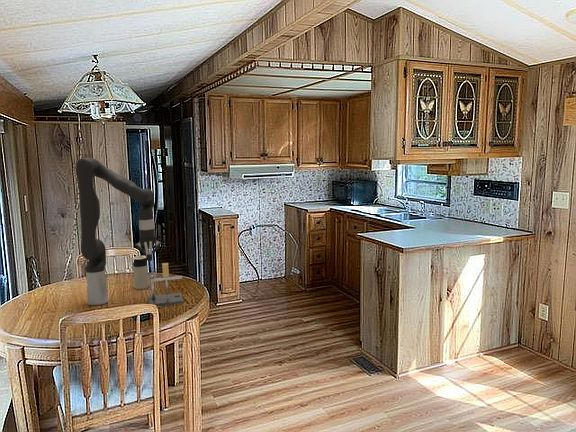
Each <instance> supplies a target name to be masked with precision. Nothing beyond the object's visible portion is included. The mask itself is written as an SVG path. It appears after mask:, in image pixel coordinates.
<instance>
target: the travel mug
mask: <svg viewBox="0 0 576 432" xmlns="http://www.w3.org/2000/svg"><path fill="white" fill-rule="evenodd" d="M132 259H133V262H132V269H133V271H132V272H133V283H134V284H133V285H134V289H136V290H143V289H147V288H149V287H150V281H149V280H150V277H149V266H148V261H147V259H146V255H137V256H133V257H132Z"/></svg>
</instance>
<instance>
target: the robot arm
mask: <svg viewBox="0 0 576 432" xmlns="http://www.w3.org/2000/svg"><path fill="white" fill-rule="evenodd" d="M75 173H76V179H77V184H78V197H79V216H80V229H81V230H80V231H81V234H80V235H81V236H80V237H81V238H80V252H81V256H82V257H83V259H85V260H88V263H87V264H86V266H85V275H86V285H87V286H86V295H87V305H88V306H98V305H99V306H100V305H104V304H106V303H108V301H109V297H108V287H107V276H106V265H107V251H106V245H105V243H104V242H103V240H101V239H99V238H96V237H97V236H96V235H97V234H96V232H97V228H98V225H99V221H100V217H101V206H100V205H101V204H100V199H99V197H98V195H97V192H96V191H95V187H94V179H93V178H94V177H97V178H99V179H102V180H103V181H105V182H107V183H108V184H109V185H111V187H112V188H114V189H116V190H117V191H119V192H120V193H121V192H122V193H123V194H125V195H127V196H128V197H130V198H131V199H133V200H134V201H135V202H137V203H140V208H139V209H138V219H139V220H138V229H139V241H138V243H136V244H135V248H136V249H137V250H138V251H139V252H140V253H142V254H143V255H145V256H146V261H147V263H149V262H152V261H153V254H155V253H156V252H157V251H158V249H159V248H160V247H161V245H162V242H160V241H158V240H157V237H156V228H155V227H156V225H155V220H154V219H155V217H154V206H155V205H154V204H155V195H154V192H153V191H152V189H150V188H141V187H139V186H138V185H137V184H136V183H135V182H134V181H132V180H130V179H128V178H126V177H124V176H123V175H120V174H119V173H116V172H115V171H114V170H112V169H109V168H108V167H107V166H106V165H104V164H103V163H102V162H100V161H99V160H98V159H96V158H93V157H82V158H81V157H80V158H79V159H78V160H77V162H76V164H75ZM141 246H142V247H143V248H142V247H141ZM154 246H155V247H154Z"/></svg>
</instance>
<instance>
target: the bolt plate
mask: <svg viewBox="0 0 576 432" xmlns="http://www.w3.org/2000/svg"><path fill="white" fill-rule="evenodd" d="M148 277H149V280H150V282H151V283H150V284H151V286H150V287H151V295H148V303H147V305H148V304H155V305H157V307H164V306H172V305H182V304H184V299H183V293H182V292H174V293H168V296H166V293H165V294H156V295H155V285H154V284H155V282H161V281H165V280H167V281H171V280H182V279H183V275H177V276H176V275H175V276H168V277H167V278H164V277H157V278H156V277H155V274H148Z"/></svg>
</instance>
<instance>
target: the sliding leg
mask: <svg viewBox="0 0 576 432" xmlns="http://www.w3.org/2000/svg"><path fill="white" fill-rule="evenodd" d="M161 267H162V277H163V278H167V277H170V273H169V272H170V270H169V262H162V263H161ZM164 281H165V294H166V296H168V294H169V284H168V280H164Z"/></svg>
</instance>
